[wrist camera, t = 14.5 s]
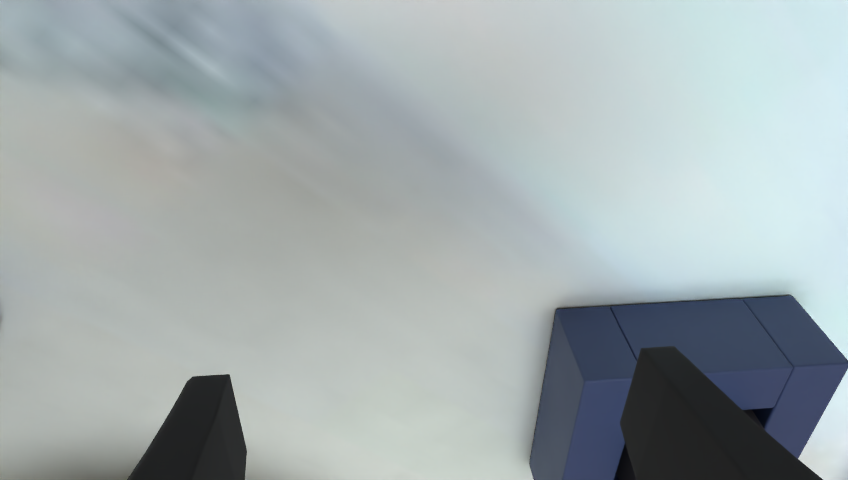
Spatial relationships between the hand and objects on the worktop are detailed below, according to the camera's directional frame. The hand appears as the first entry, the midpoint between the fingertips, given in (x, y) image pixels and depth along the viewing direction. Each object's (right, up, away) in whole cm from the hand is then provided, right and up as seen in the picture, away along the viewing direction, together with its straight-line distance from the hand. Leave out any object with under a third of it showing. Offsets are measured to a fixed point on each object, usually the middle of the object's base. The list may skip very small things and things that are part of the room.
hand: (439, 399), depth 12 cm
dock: (+9, -3, +15) cm, 18 cm away
